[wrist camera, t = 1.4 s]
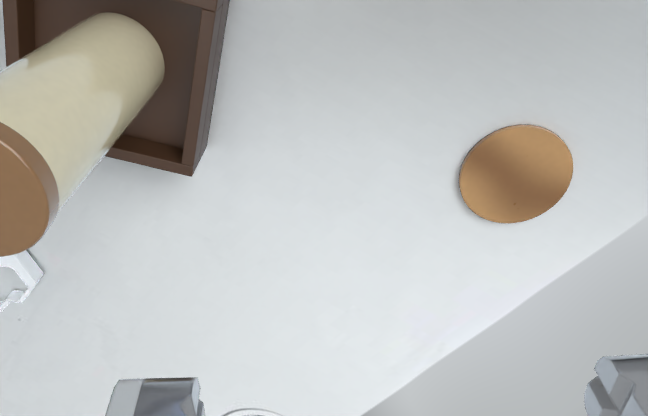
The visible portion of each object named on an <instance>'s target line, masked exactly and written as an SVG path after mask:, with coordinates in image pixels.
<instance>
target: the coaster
mask: <svg viewBox="0 0 648 416" xmlns="http://www.w3.org/2000/svg"><path fill="white" fill-rule="evenodd" d="M572 173H573V161H572V156H571V153H570V151H569V149H568V147H567V146H566V144H565V143H564V142H563V140H562V139H561V138H560V137H558V136H557V135H556V134H554V133H553V132H551V131H549V130H547V129H545V128H542V127H538V126H533V125H515V126H509V127H506V128H502V129H500V130H497V131H495V132H493V133H491V134H489V135H487V136H486V137H485V138H483V139H482V140H480V141H479V142H478V143H477V144H476V145H475V146H474V147H473V148H472V149H471V150H470V152H469V153H468V155H467V156H466V158H465V160H464V162H463V164H462V167H461V170H460V174H459V187H460V191H461V195H462V197H463V199H464V201H465V203H466V204H467V206H468V207H469V208H470V209H471V210H472V211H473V212H474V213H475V214H477V215H479V216H480V217H482V218H484V219H487V220H490V221H493V222H498V223H516V222H522V221H526V220H529V219H532V218H535V217H537V216H539V215H541V214H543V213H544V212H546V211H547V210H549V209H550V208H551V207H553V206H554V205H555V204H556V203H557V202H558V201H559V200H560V199H561V197H562V196H563V195H564V193H565V192H566V190H567V188H568V186H569V184H570V181H571V178H572Z"/></svg>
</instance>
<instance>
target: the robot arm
mask: <svg viewBox="0 0 648 416" xmlns="http://www.w3.org/2000/svg"><path fill="white" fill-rule="evenodd" d="M594 369H595V371H596V373H597V374H598V376H597V377H595V378H594V379H593V380H591V381H590V382H589V383H588V385H587V388H586V390H585V393H584V399H585V409H586V412H587V416H648V354H638V355H621V356H606V357H602V358H600V359H599V360H598V361H597V363H596V365H595V368H594ZM199 394H200V385H199V381H198V378H196V377H195V378H150V379H123V380H119V381H118V382H117V384H116V385H115V387H114V389H113V392H112V395H111V399H110V402H109V405H108V408H107V411H106V415H105V416H205V410H204V404H203V402H202V401H200V400H199Z"/></svg>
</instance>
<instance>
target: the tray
mask: <svg viewBox="0 0 648 416" xmlns="http://www.w3.org/2000/svg"><path fill="white" fill-rule="evenodd" d="M229 1H230V0H3V16H4V32H5V49H6V66H9V65H11V64H12V63H14V62H16V61H17V60H19V59H20V58H22V57H24V56H25V55H27V54H29V53H30V52H32V51H33V50H35V49H37V48H38V47H40V46H42V45H43V44H45V43H47V42H48V41H50V40H51V39H53V38H55V37H56V36H58V35H60V34H61V33H63V32H64V31H66V30H68V29H69V28H71V27H73V26H74V25H76V24H77V23H79V22H81V21H82V20H84V19H86V18H87V17H89V16H91V15H94V14H98V13H105V12H110V13H117V14H122V15H125V16H127V17H129V18H132V19H133V20H135V21H137V22H138V23H140V24H141V25H142V26H144V27H145V28H146V29H147V30H148V31H149V32H150V33H151V35H152V36H153V37H154V38H155V40H156V41H157V43H158V45H159V47H160V49H161V52H162V55H163V59H164V65H165V72H164V78H163V81H162V84H161V86H160V88H159V90H158V91H157V92H156V94H155V95H154V96H153V97H152V98H151V100H150V101H149V102H148V103H147V105H146V106H145V107H144V108H143V110H142V111H141V112H140V113H139V114H138V116H137V117H136V118H135V119H134V121H133V122H132V123H131V124H130V125H129V127H128V128H127V129H126V130H125V132H124V133H123V134H122V135H121V137H120V138H119V139H118V140H117V141H116V143H115V144H114V145H113V146H112V148H111V149H110V150H109V151H108V152H107V154H106V155H105V156H107V157H111V158H115V159H120V160H124V161H128V162H132V163H136V164H141V165H145V166H149V167H153V168H157V169H162V170H166V171H170V172H174V173H178V174H182V175H187V176H192V175H193V173H194V171H195V169H196V167H197V165H198V163H199V161H200V159H201V157H202V155H203V153H204V151H205V148H206V146H207V140H208V134H209V128H210V121H211V115H212V109H213V102H214V96H215V90H216V83H217V77H218V71H219V64H220V58H221V52H222V45H223V39H224V33H225V26H226V20H227V14H228V7H229Z"/></svg>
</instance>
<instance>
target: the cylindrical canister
mask: <svg viewBox="0 0 648 416" xmlns="http://www.w3.org/2000/svg"><path fill="white" fill-rule="evenodd" d="M164 72H165V65H164V59H163V55H162V52H161V49H160V47H159V45H158V43H157V41H156V40H155V38H154V37H153V36H152V35H151V33H150V32H149V31H148V30H147V29H146V28H145V27H144V26H142V25H141V24H140V23H138V22H137V21H135V20H133V19H132V18H129V17H127V16H125V15H122V14H117V13H110V12H105V13H98V14H94V15H91V16H89V17H87V18H86V19H84V20H82V21H81V22H79V23H77V24H76V25H74V26H73V27H71V28H69V29H68V30H66V31H64V32H63V33H61V34H60V35H58V36H56V37H55V38H53V39H51V40H50V41H48V42H47V43H45V44H43V45H42V46H40V47H38V48H37V49H35V50H33V51H32V52H30V53H29V54H27V55H25V56H24V57H22V58H20V59H19V60H17V61H16V62H14V63H12V64H11V65H9V66H7V67H6V68H4V69H3V70H1V71H0V257H4V256H10V255H14V254H18V253H21V252H23V251H25V250H27V249H29V248H30V247H32V246H33V245H35V244H36V243H37V242H38V241H39V240H40V239H41V238H42V236H43V235H44V234H45V233H46V231H47V230H48V229H49V228H50V226H51V225H52V224H53V222H54V220H55V218H56V216H57V214H58V213H59V211H60V210H61V209H62V208H63V206H64V205H65V204H66V203H67V202H68V200H69V199H70V198H71V197H72V195H73V194H74V193H75V192H76V190H77V189H78V188H79V187H80V186H81V184H82V183H83V182H84V181H85V179H86V178H87V177H88V176H89V175H90V173H91V172H92V171H93V170H94V168H95V167H96V166H97V165H98V164H99V162H100V161H101V160H102V159H103V157H104V156H105V155H106V154H107V152H108V151H109V150H110V149H111V148H112V146H113V145H114V144H115V143H116V141H117V140H118V139H119V138H120V137H121V135H122V134H123V133H124V132H125V130H126V129H127V128H128V127H129V125H130V124H131V123H132V122H133V121H134V119H135V118H136V117H137V116H138V114H139V113H140V112H141V111H142V110H143V108H144V107H145V106H146V105H147V103H148V102H149V101H150V100H151V98H152V97H153V96H154V95H155V94H156V92H157V91H158V90H159V88H160V86H161V84H162V81H163V78H164Z"/></svg>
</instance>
